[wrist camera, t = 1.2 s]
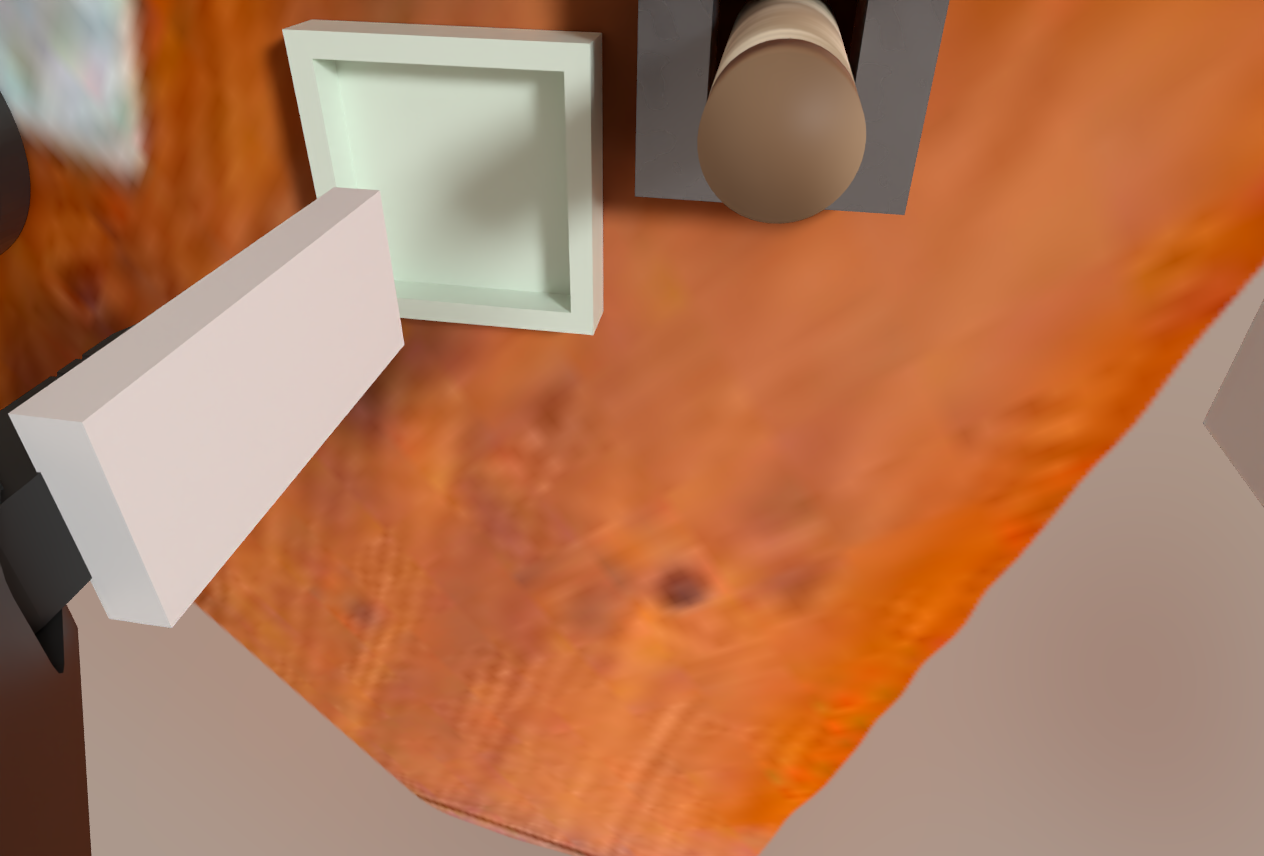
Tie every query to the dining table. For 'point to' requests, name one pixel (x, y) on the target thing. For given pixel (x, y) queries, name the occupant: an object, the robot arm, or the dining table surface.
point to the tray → (466, 161)
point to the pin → (782, 114)
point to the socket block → (882, 71)
